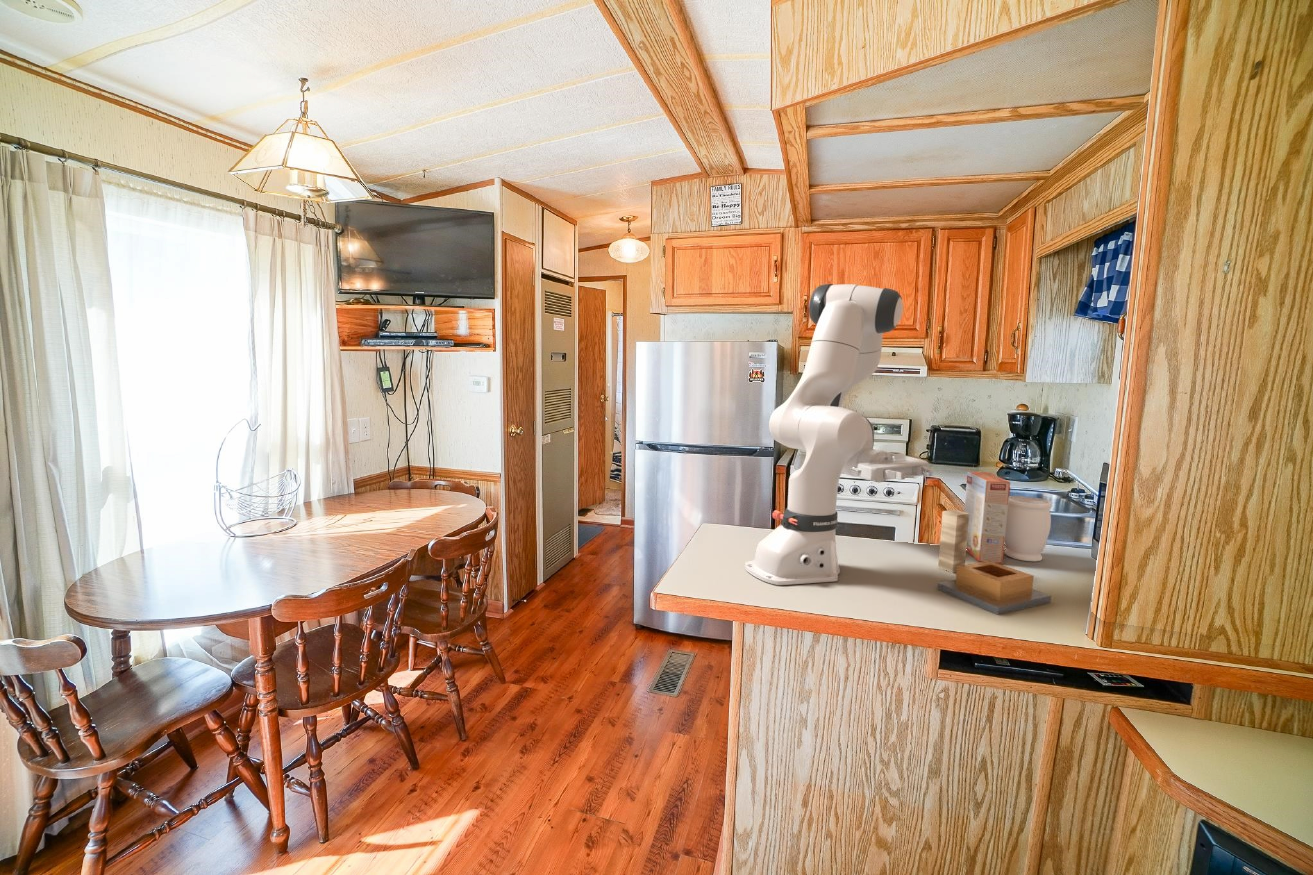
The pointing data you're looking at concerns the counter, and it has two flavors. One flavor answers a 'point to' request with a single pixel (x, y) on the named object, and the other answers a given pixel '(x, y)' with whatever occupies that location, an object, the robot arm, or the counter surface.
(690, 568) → the counter surface
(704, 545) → the counter surface
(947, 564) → the wedge pin
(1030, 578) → the socket base
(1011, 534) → the jar
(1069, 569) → the counter surface
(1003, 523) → the cracker box
